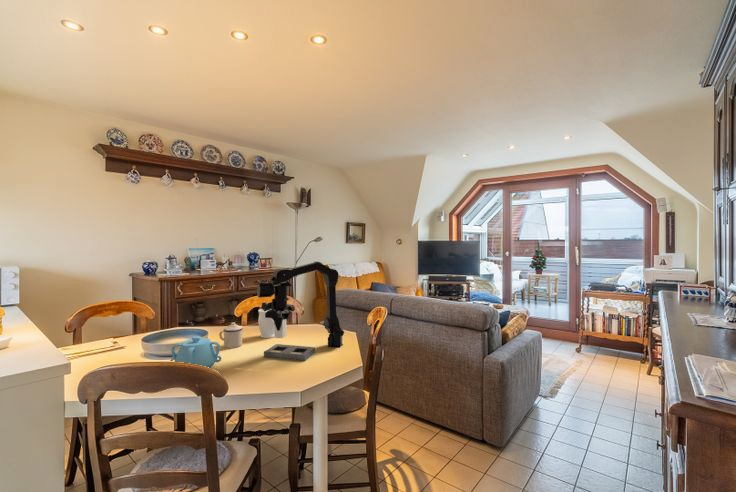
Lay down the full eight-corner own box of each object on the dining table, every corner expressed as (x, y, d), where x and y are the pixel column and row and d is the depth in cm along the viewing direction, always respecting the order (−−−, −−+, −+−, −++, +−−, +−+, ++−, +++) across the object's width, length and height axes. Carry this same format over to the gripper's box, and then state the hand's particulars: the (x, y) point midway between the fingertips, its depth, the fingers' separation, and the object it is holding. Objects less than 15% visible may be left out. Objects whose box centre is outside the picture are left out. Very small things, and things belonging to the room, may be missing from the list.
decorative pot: (224, 369, 142) (225, 336, 142) (183, 380, 130) (184, 345, 130) (206, 360, 153) (207, 329, 153) (167, 370, 141) (167, 337, 140)
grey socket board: (315, 353, 163) (315, 347, 163) (305, 362, 151) (305, 355, 151) (276, 350, 167) (276, 343, 167) (263, 358, 156) (263, 351, 156)
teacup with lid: (245, 343, 177) (246, 321, 177) (236, 349, 168) (236, 325, 168) (224, 342, 179) (224, 320, 179) (214, 347, 170) (214, 324, 170)
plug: (286, 335, 162) (286, 319, 162) (282, 338, 158) (282, 321, 158) (277, 335, 163) (277, 318, 163) (273, 337, 159) (273, 320, 159)
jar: (274, 339, 186) (274, 311, 186) (255, 338, 186) (255, 311, 186) (279, 333, 197) (280, 307, 196) (262, 333, 197) (262, 307, 197)
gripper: (274, 292, 171) (274, 323, 171) (254, 298, 153) (254, 333, 153) (295, 293, 168) (295, 325, 169) (277, 299, 150) (277, 335, 151)
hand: (280, 329), depth 160 cm, fingers closed on plug, 4 cm apart
